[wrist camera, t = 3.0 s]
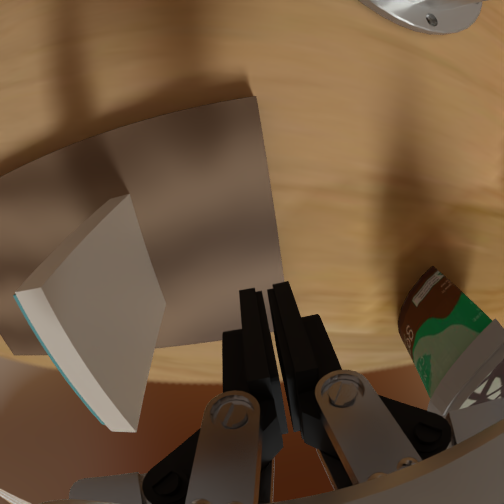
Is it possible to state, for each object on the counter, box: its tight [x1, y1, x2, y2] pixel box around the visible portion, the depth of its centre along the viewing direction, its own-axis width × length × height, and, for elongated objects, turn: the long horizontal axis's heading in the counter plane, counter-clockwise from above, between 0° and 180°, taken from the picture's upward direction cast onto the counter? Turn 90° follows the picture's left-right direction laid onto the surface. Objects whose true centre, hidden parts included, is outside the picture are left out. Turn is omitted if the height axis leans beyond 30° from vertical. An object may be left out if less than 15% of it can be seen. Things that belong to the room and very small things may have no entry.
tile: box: [13, 194, 166, 432], centre depth 12 cm, size 7×2×9 cm, turn 9°
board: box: [0, 96, 284, 355], centre depth 17 cm, size 14×24×1 cm, turn 99°
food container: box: [398, 266, 504, 416], centre depth 18 cm, size 12×6×10 cm, turn 39°
